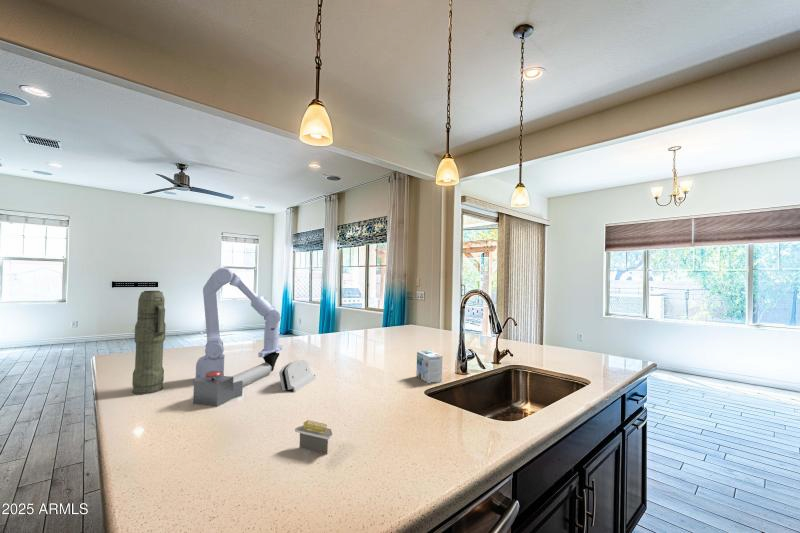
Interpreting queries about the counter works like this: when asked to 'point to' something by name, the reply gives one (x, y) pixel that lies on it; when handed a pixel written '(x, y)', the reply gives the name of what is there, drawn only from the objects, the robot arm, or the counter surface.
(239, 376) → the tube
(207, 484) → the counter surface
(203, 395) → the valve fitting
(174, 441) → the counter surface
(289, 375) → the white rounded casing
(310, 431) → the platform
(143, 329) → the thermos
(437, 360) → the light bulb box
